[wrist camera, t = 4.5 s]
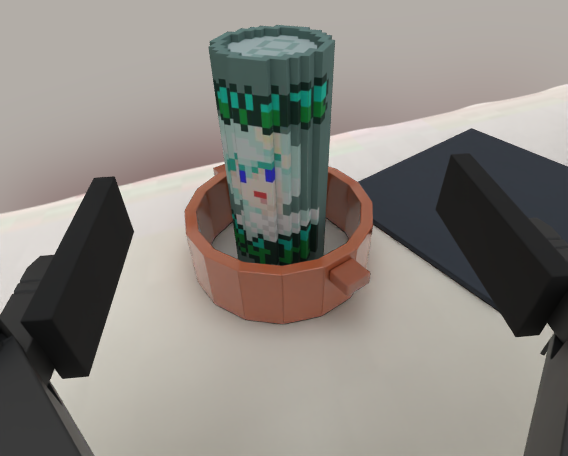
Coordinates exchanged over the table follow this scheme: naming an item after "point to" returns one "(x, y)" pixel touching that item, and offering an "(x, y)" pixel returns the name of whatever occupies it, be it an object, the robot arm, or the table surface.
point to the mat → (427, 185)
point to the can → (275, 138)
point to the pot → (274, 278)
